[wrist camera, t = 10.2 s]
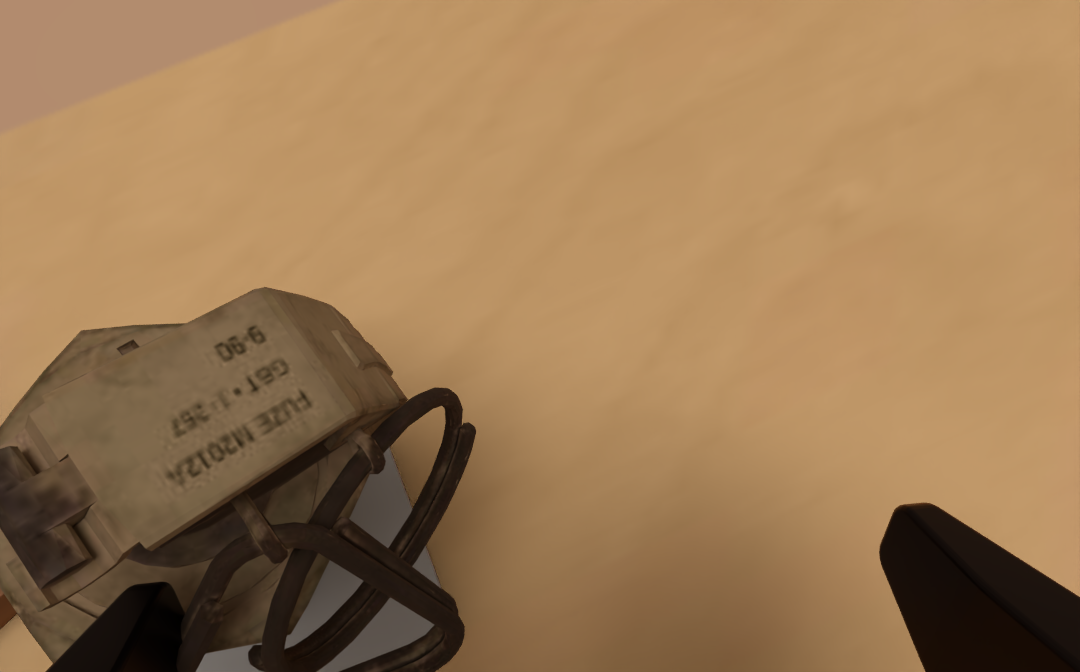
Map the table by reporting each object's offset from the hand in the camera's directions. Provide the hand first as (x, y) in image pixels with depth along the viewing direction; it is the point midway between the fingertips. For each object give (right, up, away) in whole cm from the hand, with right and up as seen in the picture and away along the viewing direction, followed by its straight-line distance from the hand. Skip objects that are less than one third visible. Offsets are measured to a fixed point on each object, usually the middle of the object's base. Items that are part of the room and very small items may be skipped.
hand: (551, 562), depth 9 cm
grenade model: (-8, -4, +12) cm, 15 cm away
